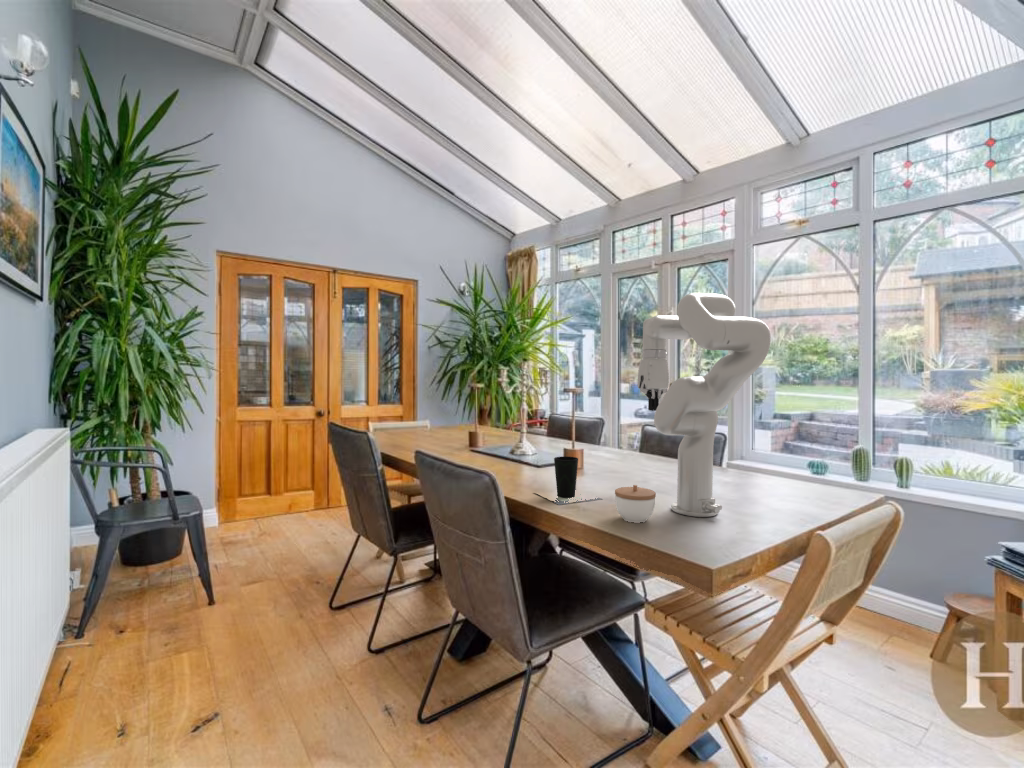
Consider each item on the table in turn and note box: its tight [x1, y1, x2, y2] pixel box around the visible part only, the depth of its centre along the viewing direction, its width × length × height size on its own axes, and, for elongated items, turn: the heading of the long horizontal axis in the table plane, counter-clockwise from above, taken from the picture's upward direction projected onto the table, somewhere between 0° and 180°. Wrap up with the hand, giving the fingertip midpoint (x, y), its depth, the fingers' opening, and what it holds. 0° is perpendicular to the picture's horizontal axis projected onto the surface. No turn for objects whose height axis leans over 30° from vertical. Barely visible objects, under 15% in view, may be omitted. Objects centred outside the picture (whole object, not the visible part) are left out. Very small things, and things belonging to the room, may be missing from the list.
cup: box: [553, 456, 579, 498], centre depth 160 cm, size 8×8×12 cm
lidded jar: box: [614, 484, 657, 524], centre depth 136 cm, size 11×11×9 cm
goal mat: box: [553, 494, 602, 506], centre depth 160 cm, size 16×16×1 cm
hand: (653, 410), depth 168 cm, fingers closed
